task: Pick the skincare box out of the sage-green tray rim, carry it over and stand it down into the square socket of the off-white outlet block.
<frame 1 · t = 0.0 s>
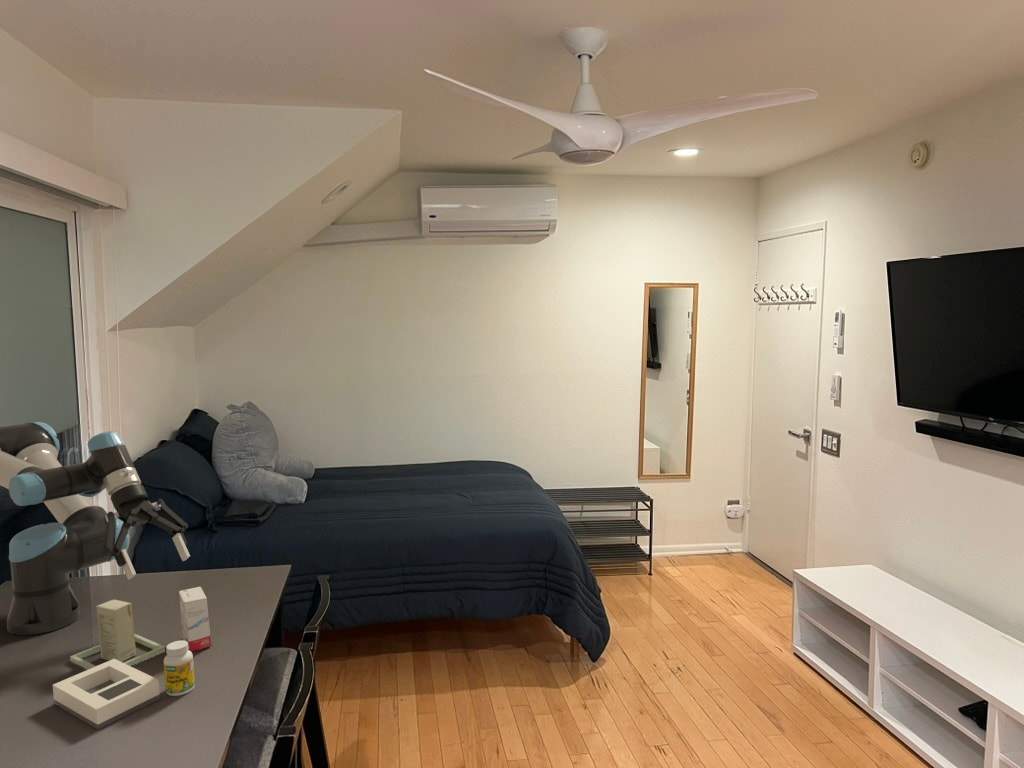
hand: (160, 567, 169), 15 cm above the table, tool tilted 35°, fingers open, 13 cm apart
outlet block: (107, 701, 140), on the table
ink box: (196, 643, 164), on the table
supplement bottle: (180, 690, 144), on the table
tray rim: (118, 656, 158), on the table
skincare box: (118, 657, 158), resting in tray rim
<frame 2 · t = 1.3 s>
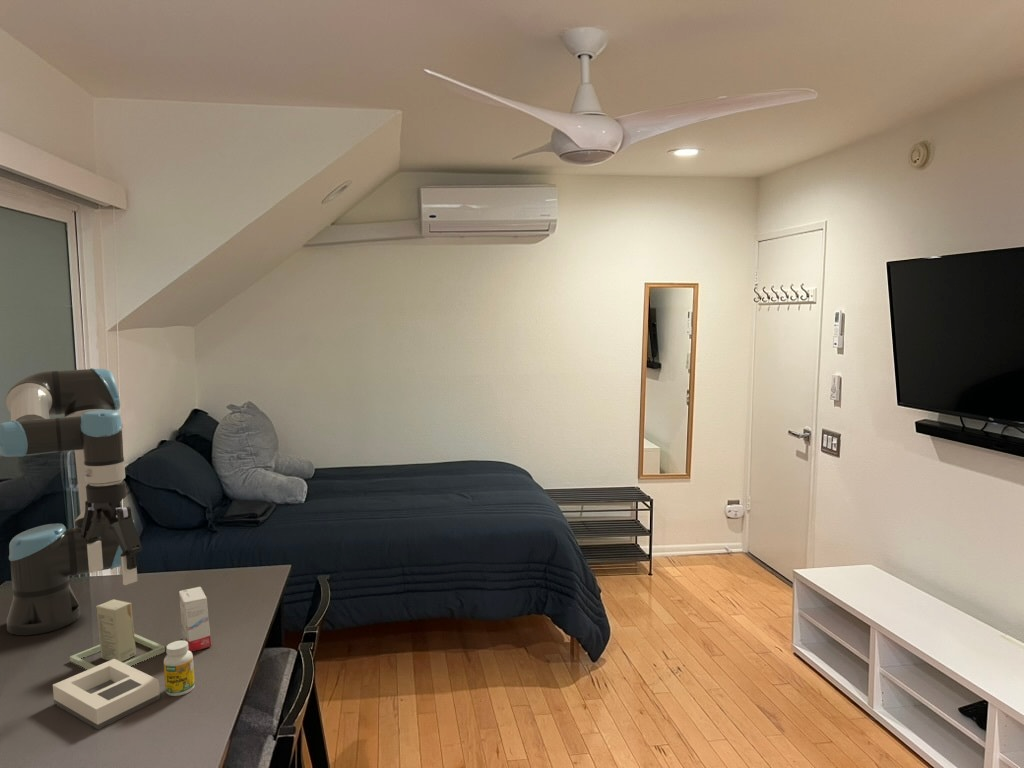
hand: (112, 576, 156), 18 cm above the table, tool pointing down, fingers open, 13 cm apart
nothing on the table moved.
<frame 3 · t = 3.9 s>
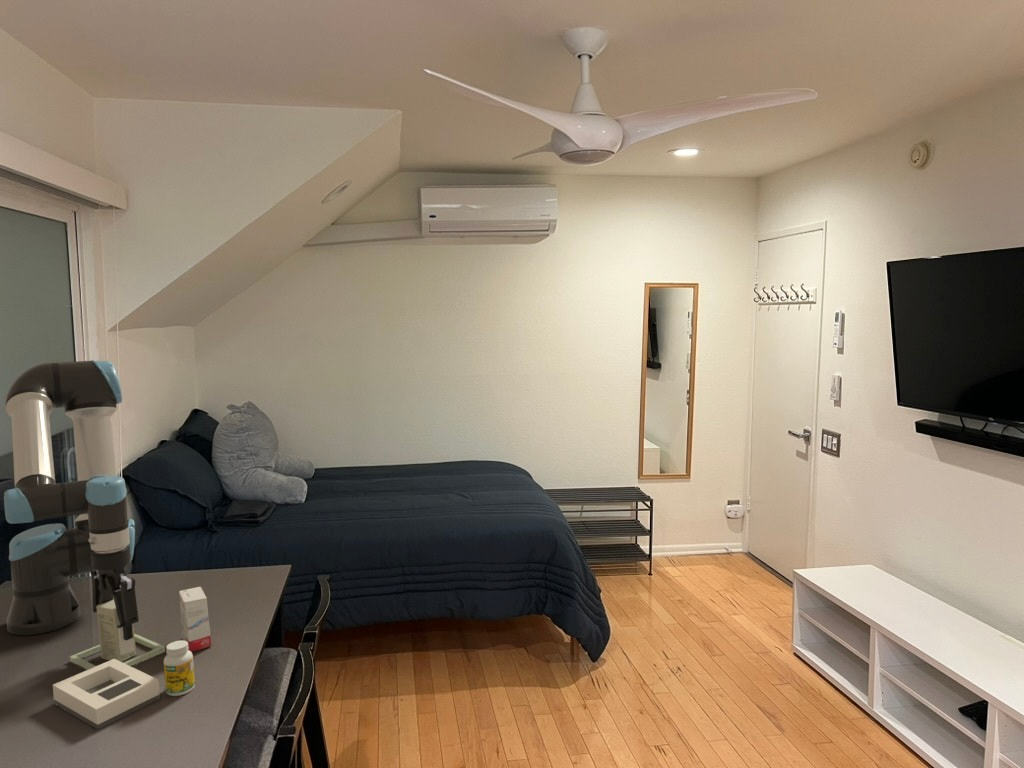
hand: (117, 648, 157), 2 cm above the table, tool pointing down, fingers closed on skincare box, 7 cm apart
skincare box: (118, 657, 158), resting in tray rim, touching gripper
everything else where it was.
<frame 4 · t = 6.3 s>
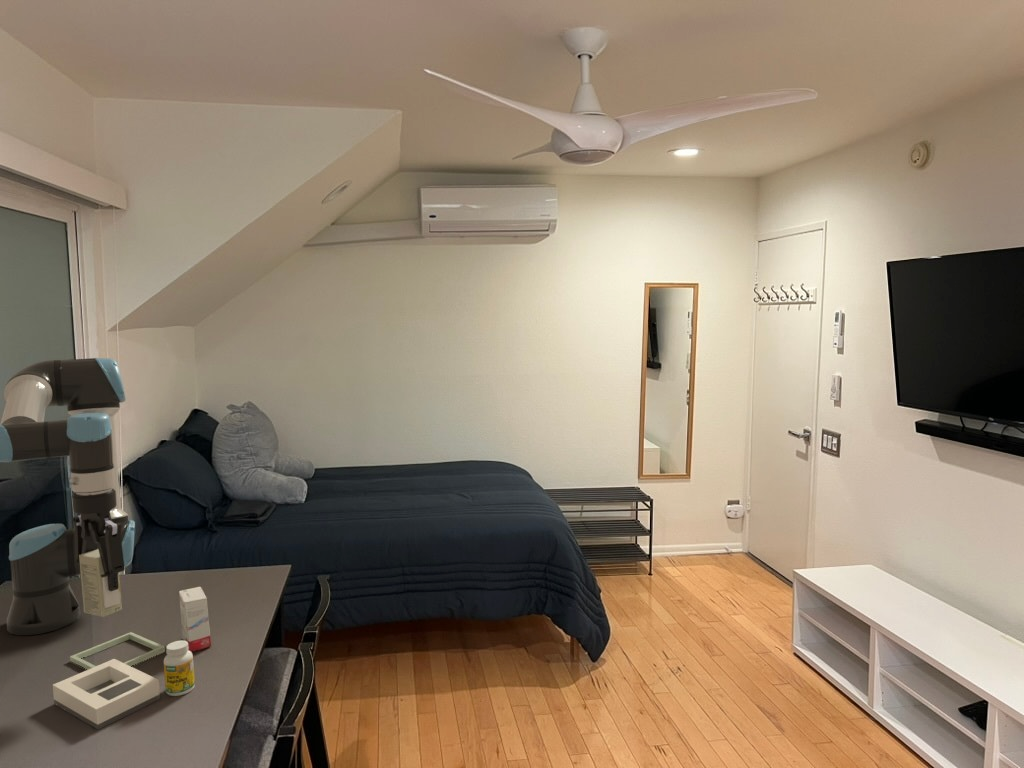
hand: (102, 601, 144), 18 cm above the table, tool pointing down, fingers closed on skincare box, 6 cm apart
skincare box: (102, 612, 145), point 15 cm above the table, touching gripper
everything else where it was.
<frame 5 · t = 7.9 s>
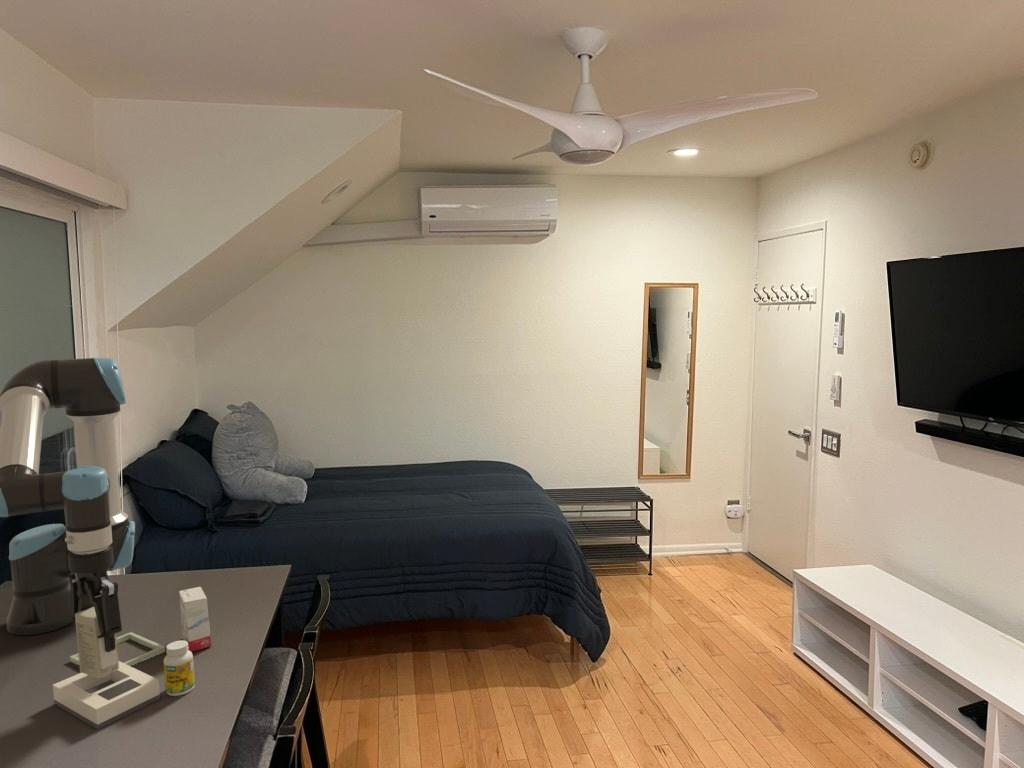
hand: (99, 660, 140), 8 cm above the table, tool pointing down, fingers closed on skincare box, 6 cm apart
skincare box: (99, 671, 140), point 6 cm above the table, touching gripper
everything else where it was.
when the fingers open (5 cm above the table, at t = 9.1 s): skincare box drops 2 cm, resting on outlet block.
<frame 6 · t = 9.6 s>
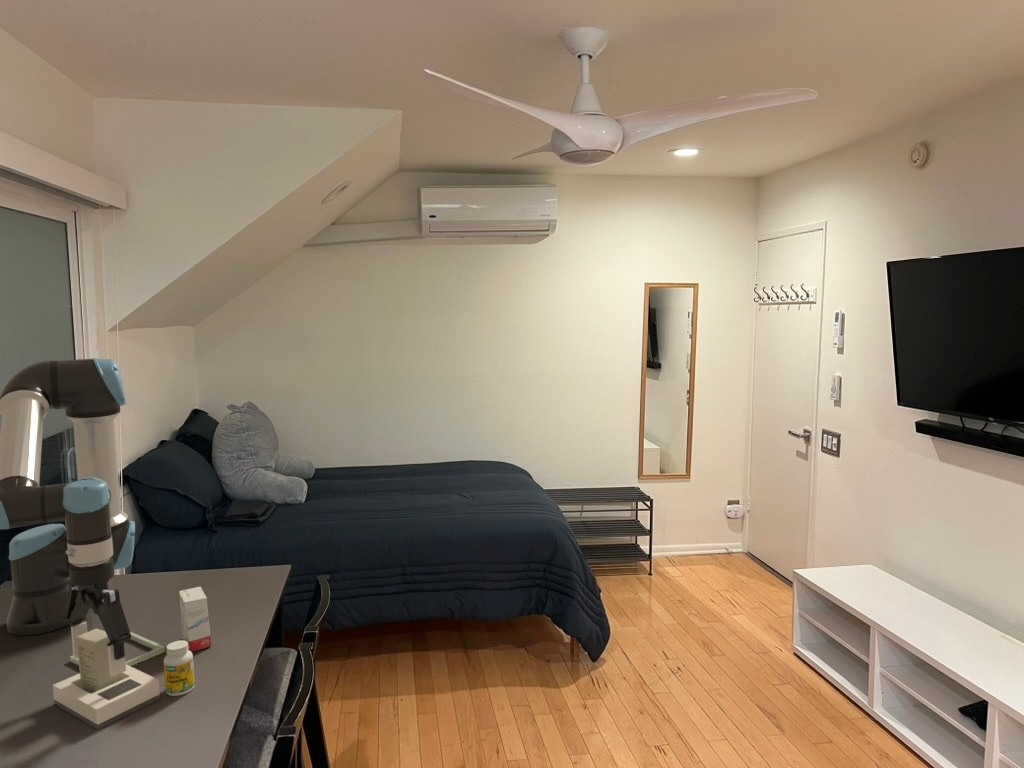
hand: (99, 664, 140), 7 cm above the table, tool pointing down, fingers open, 13 cm apart
skincare box: (100, 694, 141), point 1 cm above the table, touching outlet block
everything else where it was.
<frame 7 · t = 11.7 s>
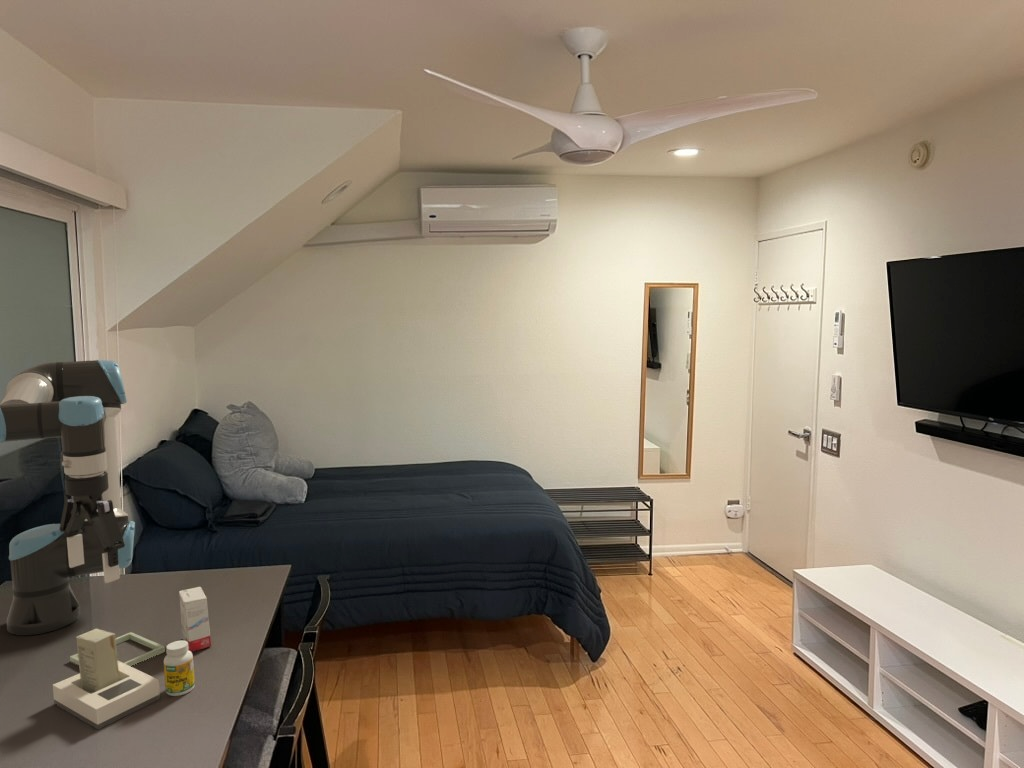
hand: (94, 573, 147), 23 cm above the table, tool pointing down, fingers open, 13 cm apart
nothing on the table moved.
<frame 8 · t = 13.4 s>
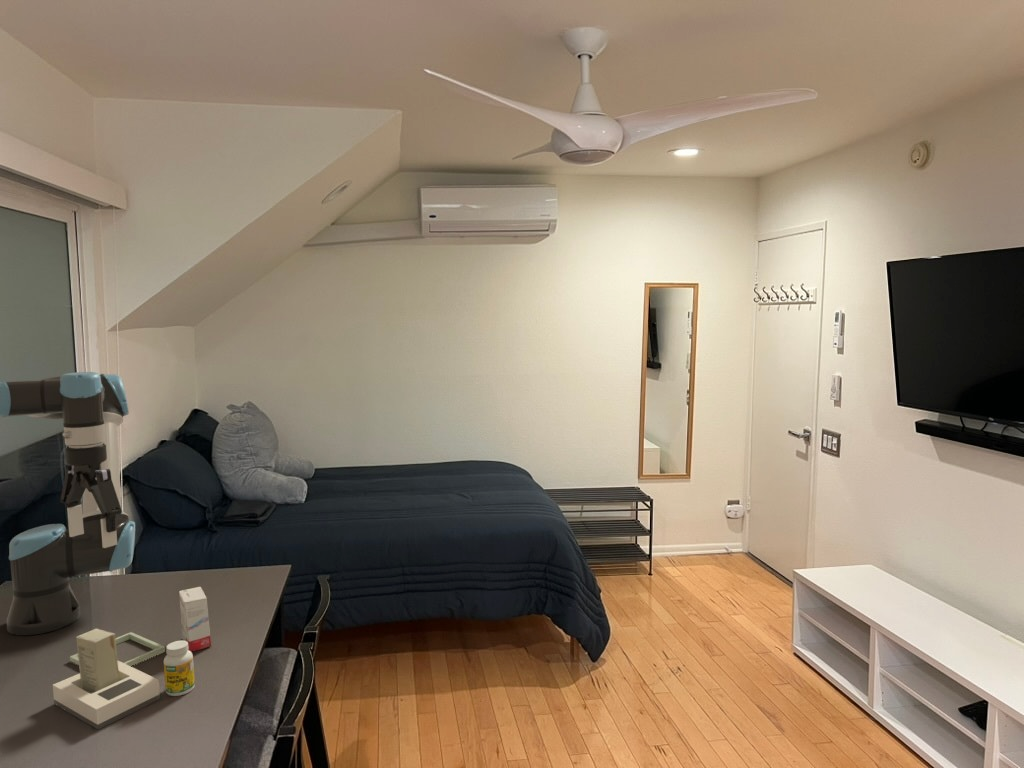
hand: (93, 540, 154), 27 cm above the table, tool pointing down, fingers open, 13 cm apart
nothing on the table moved.
at the end: skincare box 0.3 cm from the target spot on the outlet block, point 0.8 cm above the outlet block's base; skincare box tilted 0°; the gripper is holding nothing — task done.
